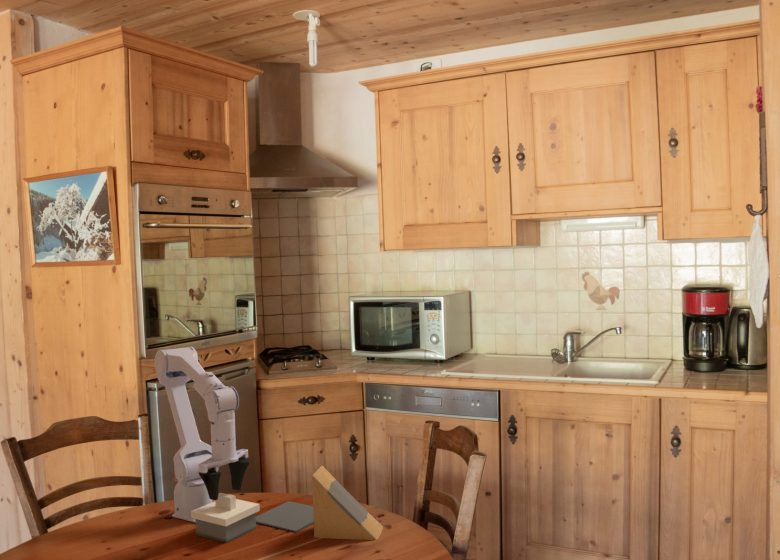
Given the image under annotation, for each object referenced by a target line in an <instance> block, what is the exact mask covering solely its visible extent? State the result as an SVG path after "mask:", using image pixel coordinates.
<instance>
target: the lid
mask: <svg viewBox="0 0 780 560" xmlns="http://www.w3.org/2000/svg"><path fill="white" fill-rule="evenodd" d="M260 508H261V504H260V503H256V502H251V501H248V500H242V499H239V498H236V495H232V494H230V493H224V492H218V500H213V501H212V503H209V504H207V505H205V506H202V507H200V508H198V509H195V510H193V511H191V518H194V519H198V520H202V521H206V522H210V523H214V524H218V525H222V526H228V525H230V524H232V523H234V522H237V521H239V520H241V519H243V518H245V517H247V516H249V515H251V514H254V513H256V514H257V513H258V512H260V511H261V509H260Z"/></svg>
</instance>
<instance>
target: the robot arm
mask: <svg viewBox="0 0 780 560" xmlns="http://www.w3.org/2000/svg"><path fill="white" fill-rule="evenodd" d="M153 363H154V369H155V373H156V377H157V380H158V382H159V384H160V385H161V386H164V388H165V392H166V395H167V399H168V403H169V406H170V411H171V414H172V417H173V421H174V425H175V429H176V433H177V436H178V439H179V444H180V448H178V450H177V451H176V453H175V454H174V455H173V459H172V461H173V467H174V468H173V469H174V470H173V471H174V476H175V478H176V481H177V483H176V485H175V486H174V490H173V499H174V500H173V504H174V507H173V508H174V513H173V514H172V515H171V517H172V518H176V519H180V520H185V521H189V522H192V523H195V524H196V519H194V518H191V511H193V510H195V509H198V508H200V507H202V506H205V505H207V504H209V503H212V502H213V501H215V500H218V493H219V484H220V480H221V476H222V472H221V471H219V467H223V466H225V465H228V467H229V471H230V480H231V488H232V490H235V491H241V489H242V484H243V480H244V476H245V473H246V471H247V468H248V466H249V464H250V460H249V459H248V458H249V449H246V448H241V449H237V446H236V443H237V442H236V441H237V439H236V415H235V414H236V413H235V411H237V410H238V408H239V407H240V397H239V393H238V391H237V389H236V388H235V387H234V386H226V385H224V384H223V383H222V381H221V380H220V379H219V378H218V377H217V376H216V375H215V374H214V373H213V372H212V371H206V370H205V369H204V367H203V366H202V365H201V364H200V362H199V356H198V351H197V350H196V349H195V348H194V347H193V346H187V347H179V348H178V347H177V348H170V349H159V350H157V351H156V354H155V356H154V362H153ZM191 380H192V381H193V387H194V390H195V391H196V392H197V393H198V394H199V396H200V397H201V398H202V399H203V400H204V404H205V408H206V412H207V419H208V421H209V422H210V440H211V441H210V442H211V444H208V443H206V442H204V441H202V440H201V436H200V434H199V431H198V427H197V423H196V420H195V415H194V413H193V409H192V406H191V405H192V404H191V402H190V398H189V395H188V391H187V387H186V384H187V383H188V382H190V381H191Z"/></svg>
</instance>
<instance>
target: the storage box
mask: <svg viewBox="0 0 780 560" xmlns="http://www.w3.org/2000/svg"><path fill="white" fill-rule="evenodd" d="M256 516H257V512H256V513H254V514H251V515H249V516H247V517H245V518H243V519H241V520H239V521H237V522H234V523H232V524H230V525H228V526H222V525H218V524H214V523H210V522H206V521H202V520H198V519H196V523H195V535H197V536H200V537H204V538H206V539H211V540H215V541H219V542H222V543H229V542H231V541H233V540H234V539H237V538H239V537H242V535H245V534H247V533H249V532H251V531H253V530H255V529H257V523H256Z"/></svg>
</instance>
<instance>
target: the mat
mask: <svg viewBox="0 0 780 560" xmlns="http://www.w3.org/2000/svg"><path fill="white" fill-rule="evenodd" d="M256 524H259V525H264V526H267V525H268V527H271V526H272V528H276V529H279V530H280V529H281V530H284V529H285V530H286V531H288V530H289V532H292V531H293V533H298V532H300V531H302V530H304V529H305V528H308V527H309V526H311V525H314V517H313V505H310V504H309V505H308V504H303V503H299V502H293V501H289V500H288V501H286V502H283V503H281V504H280V505H277V506H275V507H273V508H271V509H269V510H267V511H265V512H263V513H261V514H259V515H256Z"/></svg>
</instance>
